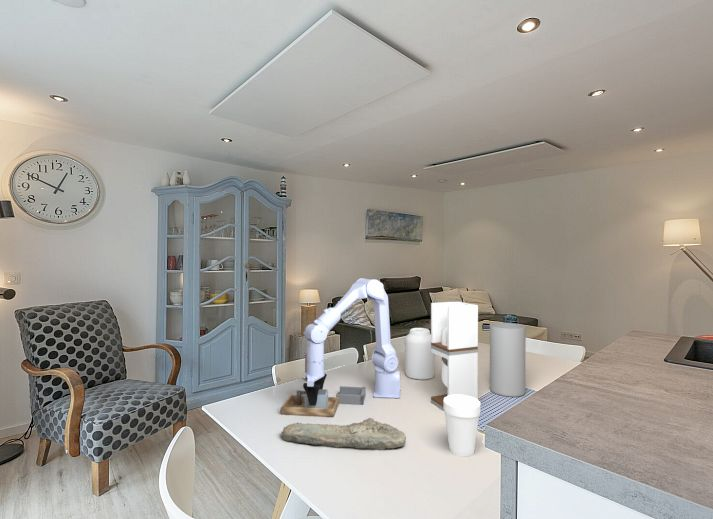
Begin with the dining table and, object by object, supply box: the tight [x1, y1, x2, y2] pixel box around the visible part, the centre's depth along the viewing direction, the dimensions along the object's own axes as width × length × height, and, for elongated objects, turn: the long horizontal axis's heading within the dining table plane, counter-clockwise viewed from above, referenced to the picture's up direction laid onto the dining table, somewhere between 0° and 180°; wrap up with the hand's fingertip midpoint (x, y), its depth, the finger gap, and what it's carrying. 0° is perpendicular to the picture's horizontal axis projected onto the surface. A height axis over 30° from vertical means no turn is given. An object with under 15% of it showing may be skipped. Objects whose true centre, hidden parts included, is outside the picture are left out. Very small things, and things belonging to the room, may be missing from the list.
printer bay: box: [335, 385, 367, 406], centre depth 131 cm, size 10×8×3 cm
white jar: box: [404, 327, 436, 381], centre depth 157 cm, size 12×12×20 cm
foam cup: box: [443, 395, 481, 457], centre depth 97 cm, size 10×9×13 cm
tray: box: [280, 394, 340, 418], centre depth 123 cm, size 17×10×2 cm, turn 83°
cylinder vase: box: [489, 322, 527, 398], centre depth 139 cm, size 12×12×25 cm
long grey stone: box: [281, 417, 407, 451], centre depth 102 cm, size 35×5×10 cm
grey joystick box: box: [296, 388, 329, 409], centre depth 123 cm, size 10×4×6 cm, turn 83°
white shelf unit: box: [430, 301, 479, 413], centre depth 125 cm, size 11×11×35 cm
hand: (315, 400), depth 123 cm, fingers open, 7 cm apart
